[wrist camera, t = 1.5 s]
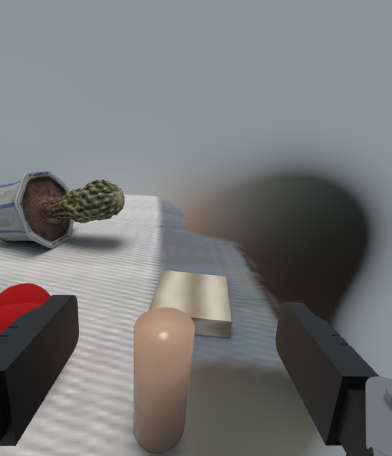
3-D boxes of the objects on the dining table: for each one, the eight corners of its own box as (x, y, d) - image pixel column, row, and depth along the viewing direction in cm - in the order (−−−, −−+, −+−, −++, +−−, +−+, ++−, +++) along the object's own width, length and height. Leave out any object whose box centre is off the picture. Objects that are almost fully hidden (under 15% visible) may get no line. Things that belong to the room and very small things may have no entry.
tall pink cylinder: (126, 449, 22) (125, 348, 18) (141, 394, 26) (142, 304, 22) (182, 455, 22) (193, 355, 18) (186, 399, 26) (196, 310, 22)
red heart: (57, 399, 25) (45, 323, 22) (-28, 422, 23) (-56, 339, 19) (67, 334, 33) (59, 271, 30) (5, 345, 31) (-11, 277, 27)
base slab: (147, 329, 35) (148, 312, 34) (161, 283, 47) (162, 270, 46) (228, 337, 35) (231, 321, 34) (223, 290, 47) (225, 276, 45)
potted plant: (-56, 184, 46) (94, 159, 44) (14, 175, 63) (125, 157, 61) (-19, 266, 51) (118, 248, 49) (37, 238, 68) (140, 223, 66)
